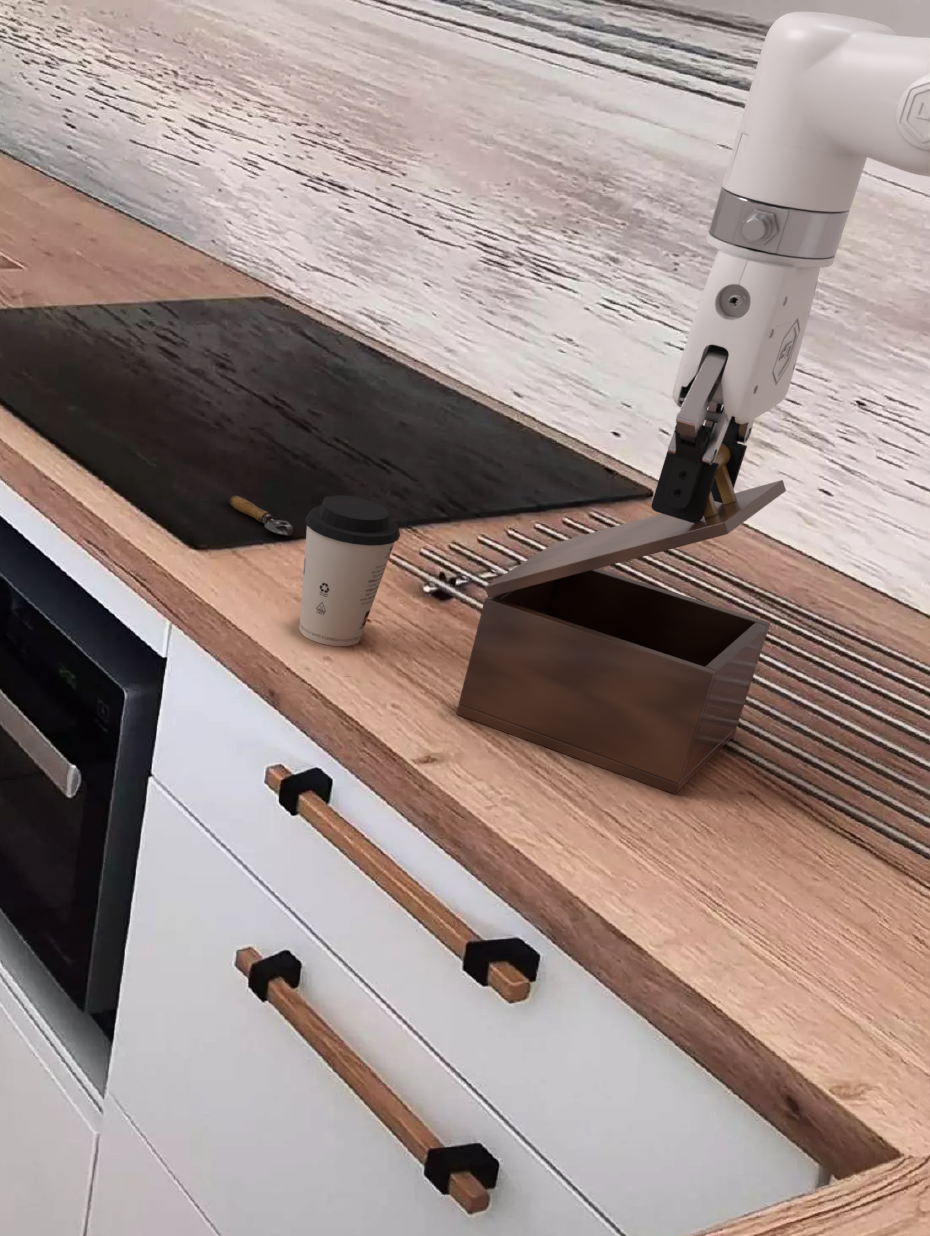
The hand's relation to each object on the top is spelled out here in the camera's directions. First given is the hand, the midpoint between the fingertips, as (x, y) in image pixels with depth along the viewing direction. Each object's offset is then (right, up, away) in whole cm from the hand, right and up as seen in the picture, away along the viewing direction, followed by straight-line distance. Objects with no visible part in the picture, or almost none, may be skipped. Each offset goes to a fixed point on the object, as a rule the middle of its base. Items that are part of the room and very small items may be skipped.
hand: (690, 503), depth 130 cm
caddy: (-3, -14, +9) cm, 17 cm away
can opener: (-22, +3, +39) cm, 45 cm away
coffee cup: (-20, -8, +19) cm, 28 cm away
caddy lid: (-2, -2, +3) cm, 5 cm away
